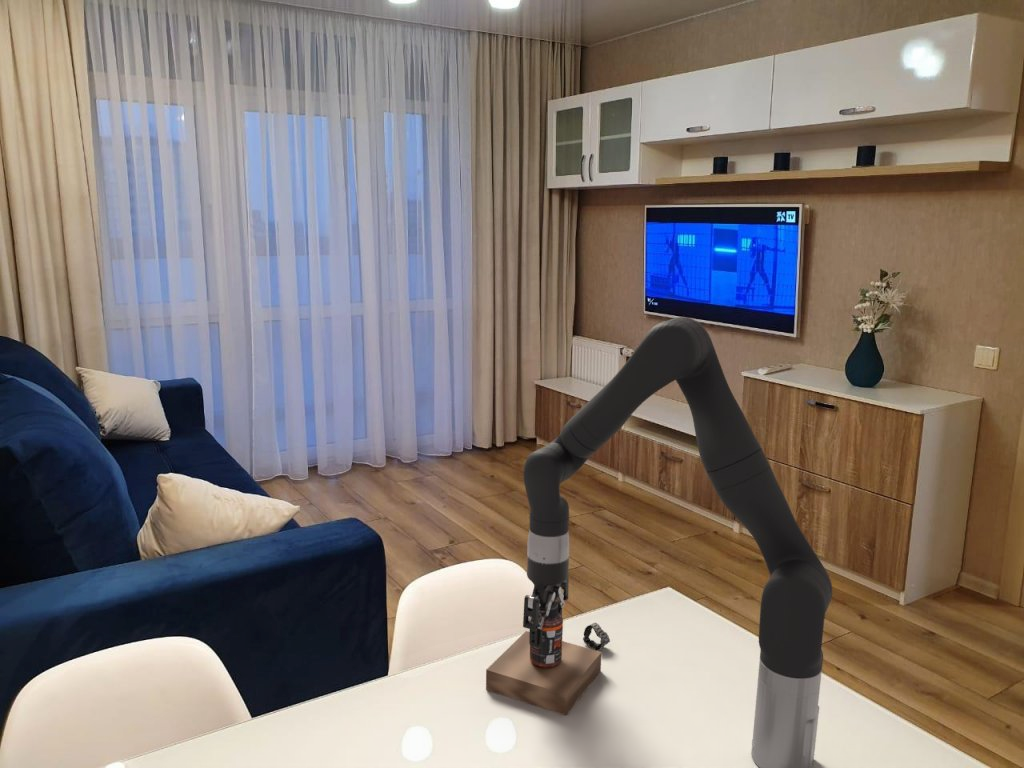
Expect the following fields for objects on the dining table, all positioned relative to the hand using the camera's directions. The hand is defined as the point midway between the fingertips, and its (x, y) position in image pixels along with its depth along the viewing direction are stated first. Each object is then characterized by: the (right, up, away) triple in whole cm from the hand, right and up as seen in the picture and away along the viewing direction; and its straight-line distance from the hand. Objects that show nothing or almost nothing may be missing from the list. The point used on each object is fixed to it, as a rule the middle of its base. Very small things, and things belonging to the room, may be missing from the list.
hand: (545, 635), depth 151 cm
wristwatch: (+11, -7, +14) cm, 19 cm away
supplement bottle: (0, -5, +1) cm, 5 cm away
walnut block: (0, -9, +2) cm, 9 cm away
